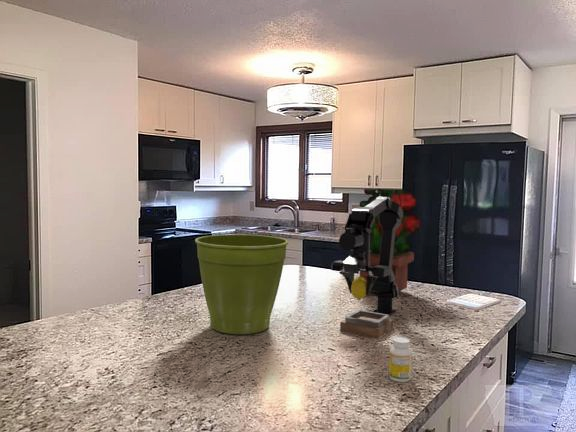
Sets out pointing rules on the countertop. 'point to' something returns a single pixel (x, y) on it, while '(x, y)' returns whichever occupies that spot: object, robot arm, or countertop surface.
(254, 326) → the plant pot
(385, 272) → the robot arm
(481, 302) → the calculator
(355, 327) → the display plinth
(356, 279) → the lemon
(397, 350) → the supplement bottle
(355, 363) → the countertop surface
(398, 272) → the potted plant
